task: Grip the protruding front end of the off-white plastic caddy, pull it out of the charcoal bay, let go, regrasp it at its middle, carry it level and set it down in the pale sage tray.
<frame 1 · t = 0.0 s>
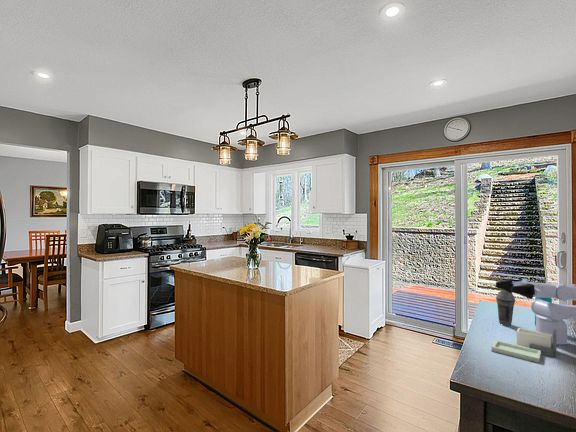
hand: (503, 287, 122), 22 cm above the table, tool horizontal, fingers open, 7 cm apart
bay: (543, 350, 114), on the table
beverage can: (543, 329, 136), on the table
tray: (515, 352, 112), on the table
beverage cup: (505, 324, 142), on the table
caddy: (533, 348, 116), on the table
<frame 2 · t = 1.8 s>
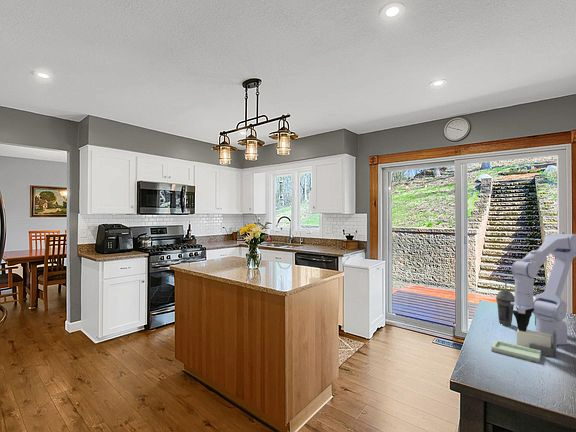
hand: (523, 328, 118), 7 cm above the table, tool pointing down, fingers open, 7 cm apart
nothing on the table moved.
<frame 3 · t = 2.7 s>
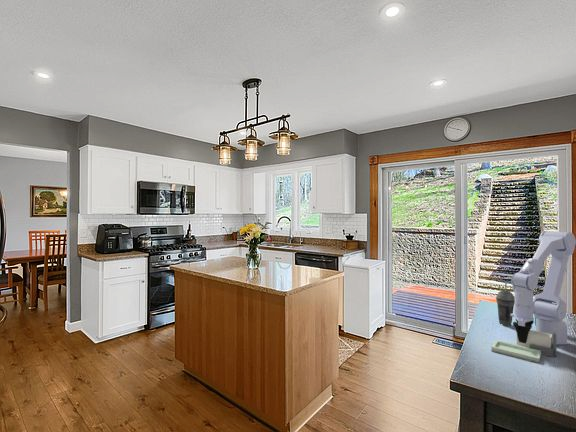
hand: (523, 340, 118), 2 cm above the table, tool pointing down, fingers closed on caddy, 5 cm apart
caddy: (533, 348, 116), on the table, touching gripper
everything else where it was.
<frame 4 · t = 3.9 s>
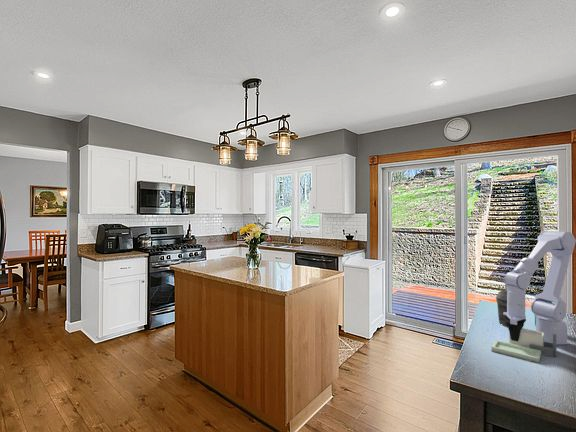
hand: (515, 338, 120), 2 cm above the table, tool pointing down, fingers closed on caddy, 5 cm apart
caddy: (526, 346, 118), on the table, touching gripper
everything else where it was.
when the fingers open (2 cm above the table, at t = 5.4 s): caddy stays where it is, on the table.
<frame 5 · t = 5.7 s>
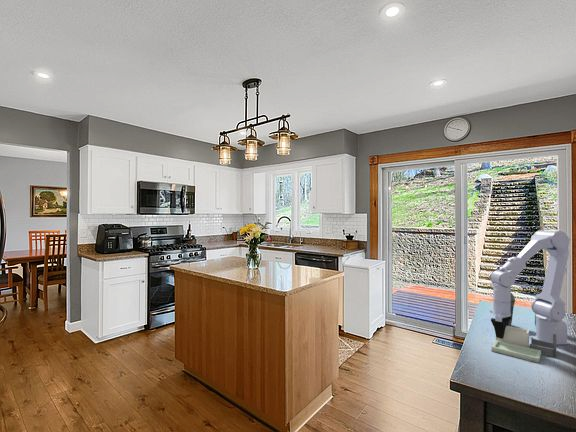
hand: (501, 335, 123), 2 cm above the table, tool pointing down, fingers open, 7 cm apart
caddy: (512, 343, 121), on the table
everything else where it was.
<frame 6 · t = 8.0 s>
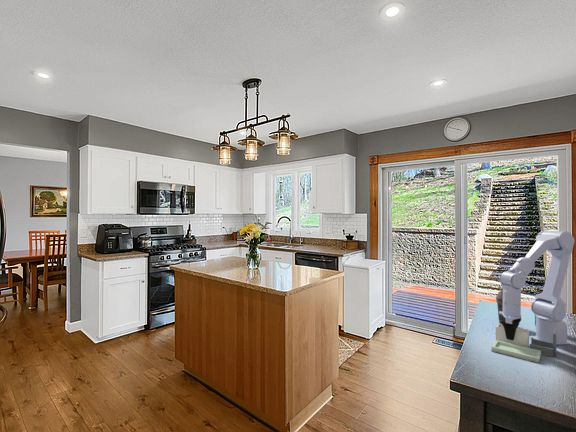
hand: (511, 337, 121), 2 cm above the table, tool pointing down, fingers closed on caddy, 5 cm apart
caddy: (512, 343, 121), on the table, touching gripper
everything else where it was.
when the fingers open (4 cm above the table, at t = 11.4 s): caddy stays where it is, resting on tray.
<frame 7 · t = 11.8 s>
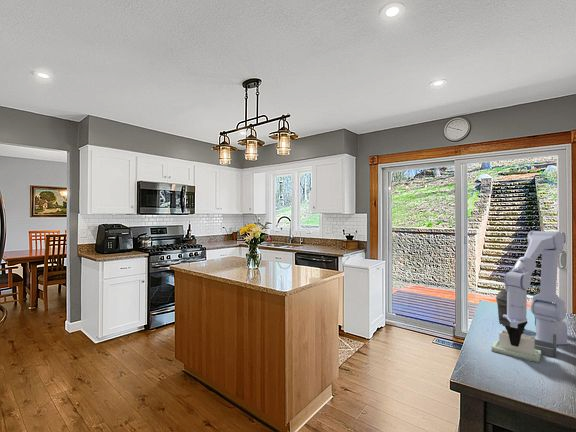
hand: (516, 342, 112), 4 cm above the table, tool pointing down, fingers open, 7 cm apart
caddy: (516, 351, 112), resting on tray
everything else where it was.
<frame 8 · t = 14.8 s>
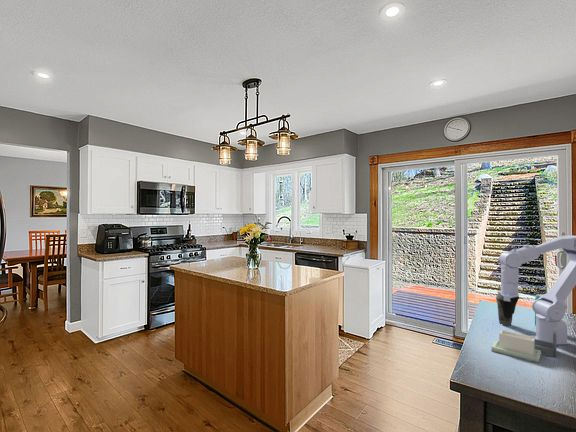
hand: (509, 315, 125), 9 cm above the table, tool pointing down, fingers open, 7 cm apart
nothing on the table moved.
at the end: caddy 0.1 cm off-centre on the tray, point 0.5 cm above the tray's base; caddy tilted 0°; the gripper is holding nothing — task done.
